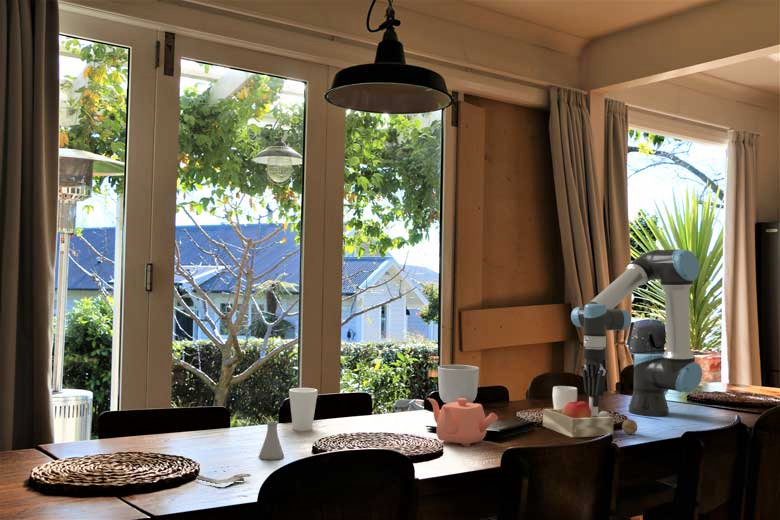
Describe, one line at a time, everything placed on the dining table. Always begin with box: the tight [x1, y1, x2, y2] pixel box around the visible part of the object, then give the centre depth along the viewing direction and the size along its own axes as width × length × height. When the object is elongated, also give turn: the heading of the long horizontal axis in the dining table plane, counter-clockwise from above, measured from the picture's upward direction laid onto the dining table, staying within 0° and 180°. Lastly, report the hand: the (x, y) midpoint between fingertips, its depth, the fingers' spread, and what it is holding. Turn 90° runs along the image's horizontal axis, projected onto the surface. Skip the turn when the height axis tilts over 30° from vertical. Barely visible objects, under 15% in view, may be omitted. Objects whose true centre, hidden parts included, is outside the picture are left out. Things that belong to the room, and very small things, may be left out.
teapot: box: [426, 397, 499, 447], centre depth 243 cm, size 18×18×14 cm
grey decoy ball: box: [597, 410, 611, 417], centre depth 280 cm, size 4×4×4 cm
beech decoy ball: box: [621, 418, 639, 435], centre depth 262 cm, size 5×5×5 cm
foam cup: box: [288, 387, 318, 432], centre depth 258 cm, size 10×9×13 cm
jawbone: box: [196, 473, 252, 484], centre depth 192 cm, size 9×20×2 cm, turn 74°
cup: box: [551, 385, 578, 409], centre depth 285 cm, size 9×9×12 cm
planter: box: [437, 364, 480, 404], centre depth 313 cm, size 17×17×15 cm
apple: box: [562, 400, 592, 418], centre depth 267 cm, size 10×10×10 cm
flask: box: [258, 420, 285, 461], centre depth 217 cm, size 7×7×10 cm
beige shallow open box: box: [542, 408, 614, 438], centre depth 266 cm, size 16×19×6 cm
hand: (593, 415), depth 268 cm, fingers closed
